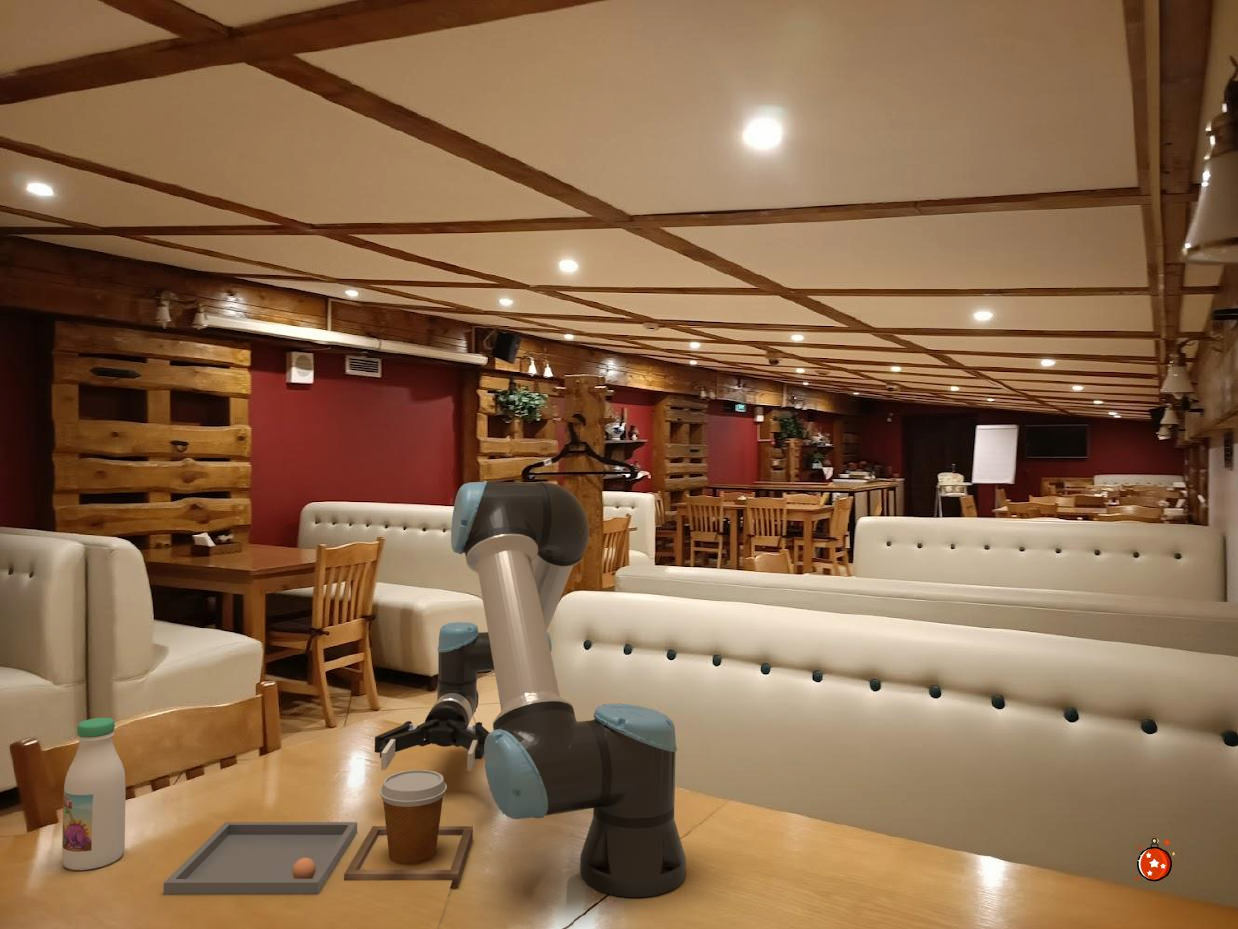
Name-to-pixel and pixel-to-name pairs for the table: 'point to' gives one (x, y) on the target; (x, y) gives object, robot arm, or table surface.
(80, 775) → the milk bottle
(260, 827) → the tray
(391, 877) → the frame
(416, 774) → the disposable coffee cup
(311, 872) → the ball
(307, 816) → the table surface
